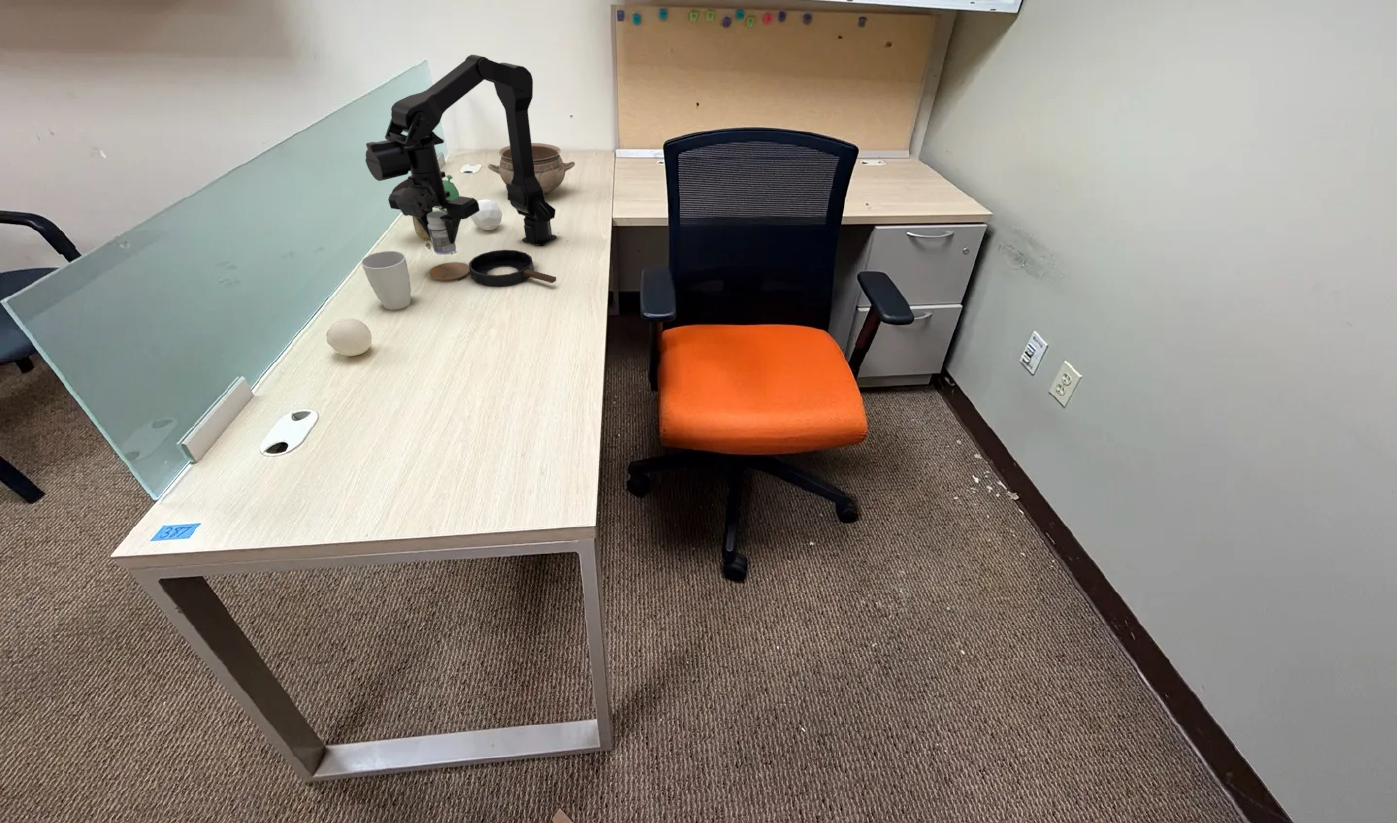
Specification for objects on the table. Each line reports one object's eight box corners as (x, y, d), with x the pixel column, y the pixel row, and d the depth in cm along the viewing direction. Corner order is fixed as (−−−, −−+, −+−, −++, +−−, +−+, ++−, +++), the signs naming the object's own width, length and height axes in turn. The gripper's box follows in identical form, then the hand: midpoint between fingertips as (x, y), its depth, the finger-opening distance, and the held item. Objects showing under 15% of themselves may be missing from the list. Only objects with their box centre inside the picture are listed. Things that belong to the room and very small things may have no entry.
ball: (487, 241, 159) (467, 223, 152) (481, 221, 162) (461, 202, 155) (511, 226, 158) (491, 207, 150) (504, 206, 161) (485, 187, 154)
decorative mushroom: (434, 249, 148) (418, 187, 138) (394, 244, 149) (375, 182, 140) (457, 232, 156) (443, 173, 147) (418, 228, 158) (403, 169, 148)
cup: (426, 299, 128) (413, 254, 122) (399, 316, 122) (385, 271, 115) (395, 292, 130) (381, 248, 123) (367, 309, 124) (351, 263, 117)
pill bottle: (437, 246, 136) (428, 210, 131) (458, 246, 137) (450, 210, 131) (431, 255, 133) (421, 218, 127) (453, 255, 133) (444, 218, 128)
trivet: (450, 261, 143) (449, 259, 142) (479, 269, 140) (478, 267, 139) (420, 275, 136) (420, 273, 136) (450, 284, 133) (449, 282, 133)
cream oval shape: (344, 342, 114) (331, 311, 110) (382, 343, 114) (371, 312, 109) (325, 361, 108) (312, 329, 104) (365, 363, 108) (353, 331, 104)
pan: (500, 255, 146) (498, 245, 144) (573, 275, 139) (572, 265, 137) (457, 277, 136) (455, 266, 134) (535, 300, 129) (533, 289, 127)
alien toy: (462, 205, 171) (454, 169, 165) (463, 214, 166) (455, 178, 159) (436, 207, 169) (427, 171, 163) (436, 217, 164) (426, 179, 158)
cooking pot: (575, 182, 190) (572, 141, 183) (579, 202, 176) (575, 159, 168) (494, 184, 186) (487, 143, 178) (491, 206, 171) (483, 162, 164)
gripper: (359, 175, 119) (383, 249, 129) (440, 187, 115) (458, 262, 125) (396, 160, 128) (416, 230, 138) (473, 170, 124) (487, 242, 134)
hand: (443, 241), depth 133 cm, fingers closed on pill bottle, 5 cm apart
